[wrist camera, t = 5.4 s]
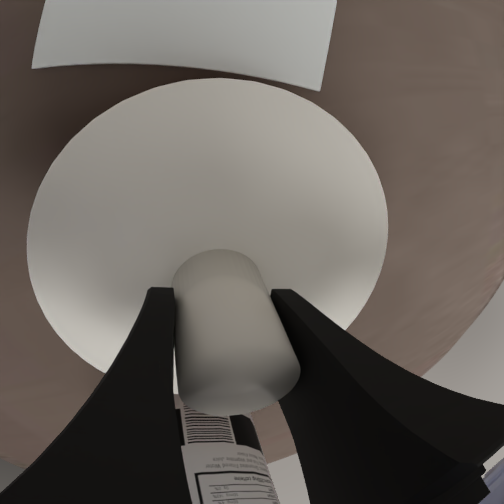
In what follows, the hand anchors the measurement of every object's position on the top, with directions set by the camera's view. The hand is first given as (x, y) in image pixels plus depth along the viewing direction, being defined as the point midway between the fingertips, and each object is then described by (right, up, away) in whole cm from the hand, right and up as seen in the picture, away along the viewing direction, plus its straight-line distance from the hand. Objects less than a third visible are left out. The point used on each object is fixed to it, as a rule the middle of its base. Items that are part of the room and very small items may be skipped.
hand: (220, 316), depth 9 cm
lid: (0, +1, +1) cm, 2 cm away
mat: (-1, +14, -1) cm, 14 cm away
